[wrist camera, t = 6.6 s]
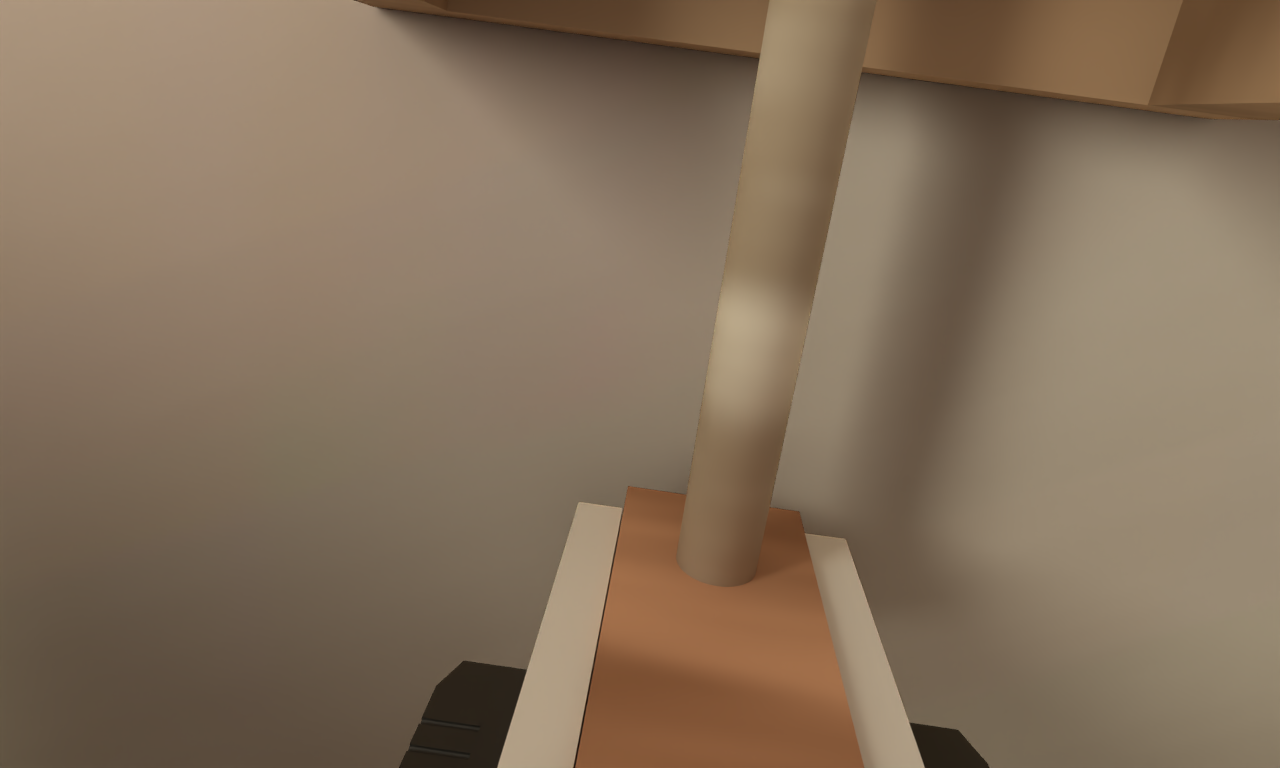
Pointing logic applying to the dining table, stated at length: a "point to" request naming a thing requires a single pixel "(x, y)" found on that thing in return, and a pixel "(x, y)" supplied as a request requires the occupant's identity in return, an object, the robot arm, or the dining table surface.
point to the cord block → (742, 467)
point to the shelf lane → (979, 43)
